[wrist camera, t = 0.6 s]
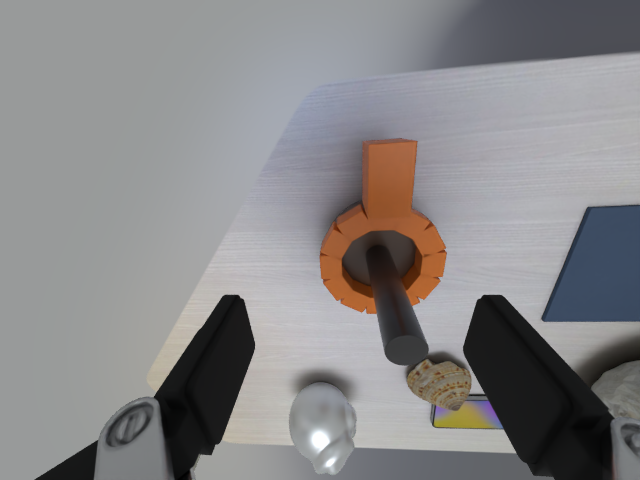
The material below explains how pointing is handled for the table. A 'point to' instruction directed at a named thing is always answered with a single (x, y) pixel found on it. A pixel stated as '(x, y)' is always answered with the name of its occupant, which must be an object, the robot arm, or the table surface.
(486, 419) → the smartphone
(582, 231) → the mat
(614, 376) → the grey round stone
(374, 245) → the stake
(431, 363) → the seashell
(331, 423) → the baroque pearl
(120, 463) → the robot arm
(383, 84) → the table surface
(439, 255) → the ring
